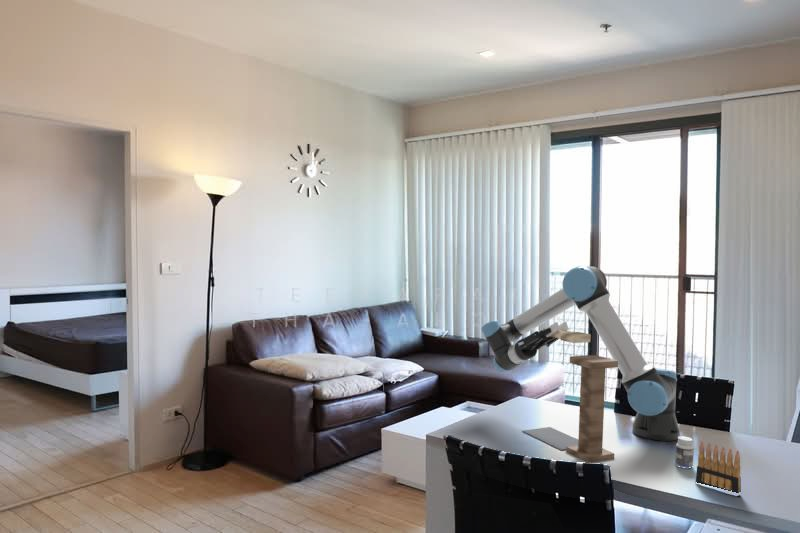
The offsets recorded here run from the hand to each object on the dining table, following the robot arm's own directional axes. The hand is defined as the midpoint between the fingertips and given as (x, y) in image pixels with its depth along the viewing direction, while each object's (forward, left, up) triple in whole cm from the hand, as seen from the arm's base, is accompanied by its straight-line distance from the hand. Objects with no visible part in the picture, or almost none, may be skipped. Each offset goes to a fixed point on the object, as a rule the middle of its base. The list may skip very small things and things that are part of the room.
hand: (562, 325), depth 189 cm
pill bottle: (-36, +11, -38) cm, 54 cm away
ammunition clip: (-41, +27, -38) cm, 63 cm away
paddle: (-1, +1, -4) cm, 4 cm away
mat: (+1, -1, -38) cm, 38 cm away
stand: (-9, +11, -38) cm, 41 cm away
